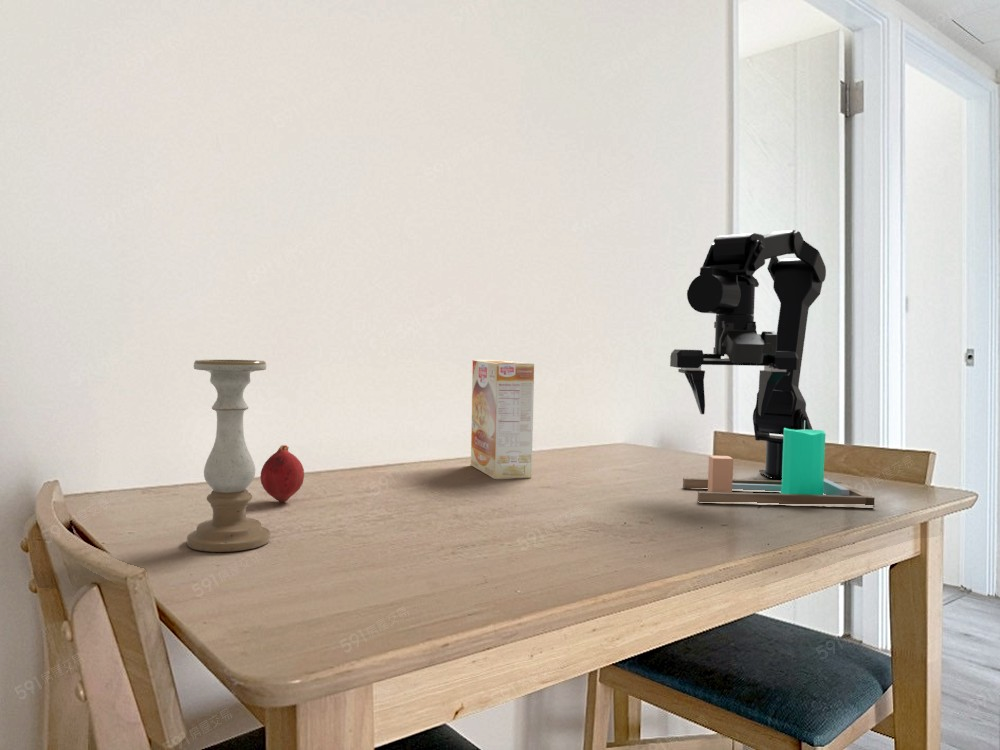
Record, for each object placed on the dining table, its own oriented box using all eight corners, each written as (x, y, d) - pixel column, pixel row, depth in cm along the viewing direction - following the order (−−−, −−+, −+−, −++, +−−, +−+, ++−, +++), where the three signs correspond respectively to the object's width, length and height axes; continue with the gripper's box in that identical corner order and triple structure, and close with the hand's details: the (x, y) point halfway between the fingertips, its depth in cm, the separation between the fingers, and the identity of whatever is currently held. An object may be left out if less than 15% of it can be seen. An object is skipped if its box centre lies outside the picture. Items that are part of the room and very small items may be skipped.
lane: (682, 487, 129) (683, 477, 129) (840, 492, 128) (840, 482, 128) (699, 503, 116) (699, 492, 116) (874, 508, 115) (874, 497, 115)
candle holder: (241, 529, 95) (242, 359, 94) (286, 542, 90) (288, 361, 89) (171, 543, 88) (172, 359, 87) (215, 558, 83) (216, 362, 82)
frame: (703, 489, 127) (704, 452, 127) (824, 493, 127) (826, 455, 126) (716, 502, 118) (718, 461, 117) (848, 506, 117) (850, 465, 117)
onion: (291, 507, 108) (292, 448, 107) (252, 505, 109) (253, 446, 108) (310, 499, 113) (311, 443, 113) (273, 497, 114) (273, 441, 114)
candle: (777, 499, 121) (780, 420, 120) (784, 493, 126) (786, 417, 125) (820, 504, 118) (823, 423, 117) (824, 497, 123) (828, 420, 123)
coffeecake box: (469, 465, 147) (471, 359, 146) (506, 464, 149) (508, 359, 148) (492, 479, 133) (495, 362, 132) (533, 478, 135) (536, 362, 134)
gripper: (687, 312, 117) (683, 419, 118) (814, 314, 117) (810, 421, 118) (670, 314, 128) (668, 411, 129) (787, 316, 128) (784, 413, 129)
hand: (731, 414), depth 126 cm, fingers open, 9 cm apart
